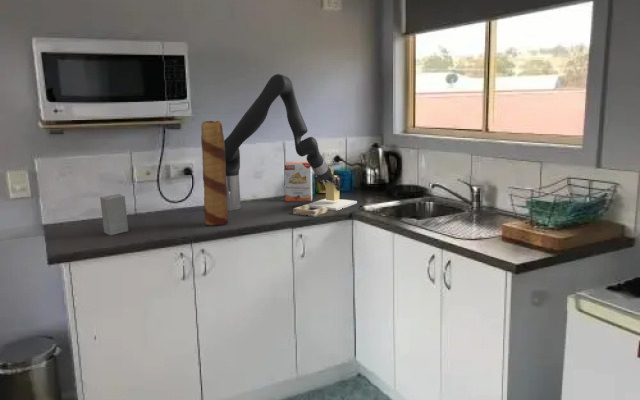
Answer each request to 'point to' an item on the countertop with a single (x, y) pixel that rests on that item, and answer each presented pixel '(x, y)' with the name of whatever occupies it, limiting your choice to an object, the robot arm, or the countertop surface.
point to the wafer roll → (214, 173)
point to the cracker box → (298, 181)
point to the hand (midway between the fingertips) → (334, 188)
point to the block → (331, 192)
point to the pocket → (306, 210)
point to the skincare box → (114, 214)
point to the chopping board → (332, 204)
